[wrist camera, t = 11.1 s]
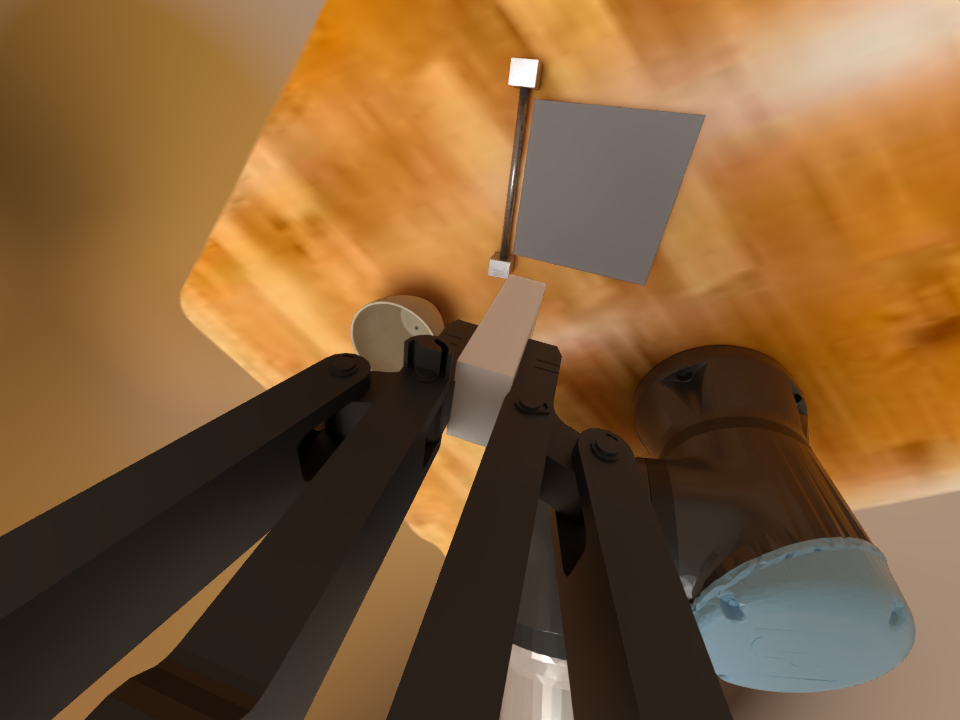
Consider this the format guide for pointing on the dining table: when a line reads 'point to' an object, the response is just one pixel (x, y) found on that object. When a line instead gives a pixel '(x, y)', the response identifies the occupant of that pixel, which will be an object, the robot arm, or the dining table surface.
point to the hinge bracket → (515, 156)
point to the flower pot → (392, 329)
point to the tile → (601, 185)
